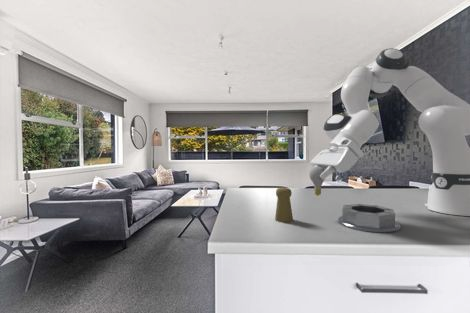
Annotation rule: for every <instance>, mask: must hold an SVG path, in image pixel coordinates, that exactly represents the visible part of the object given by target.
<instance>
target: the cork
mask: <svg viewBox="0 0 470 313" xmlns="http://www.w3.org/2000/svg"><path fill="white" fill-rule="evenodd" d="M292 194H293V192H292V190H291V189H290V188H289V187H278V188H277V189H276V191H275V195H276V197H277V200H276V209H275V216H274V217H275V218H274V220H276V221H275V222H277V221H278V222H279V223H282V222H283V224H286V223H292V222H293V221H294V218H293V212H292V210H293V209H292V204H291V203H292V202H291V196H292Z"/></svg>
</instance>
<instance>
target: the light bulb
mask: <svg viewBox="0 0 470 313" xmlns="http://www.w3.org/2000/svg"><path fill="white" fill-rule="evenodd" d="M324 171H325V170H324V169H323V168H322V167H318V166H317V167H314V166H313V167H312V168H311V169H310V170H309V172H308V173H309V179H310V180H311V182H312V184H313V186H314V187H313V188H314V195H316V196H320V195H322V191H321V190H322V185H323V183H324V181H325V180H326V178H325V179H324V180H323V179H320V178H319V175H320V173H321V172H324Z"/></svg>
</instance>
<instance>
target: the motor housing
mask: <svg viewBox="0 0 470 313" xmlns="http://www.w3.org/2000/svg"><path fill="white" fill-rule="evenodd" d="M341 213H342V214H341V215H340V216H339V217H338V219H337V220H338V223H339V224H340V225H342V226H344V227H346V228H348V229H352V230H356V231H360V232H361V231H362V232H368V233H375V234H376V233H378V234H380V233H381V234H385V233H386V234H389V233H395V232H399V231H400V230H401V225H400V223H398V222H396V213H395V211H394V209H393V208H390V207H389V208H388V207H384V206H382V205H376V204H375V205H374V204H362V203H354V204H353V203H351V204H344V205H343V207H342V212H341Z"/></svg>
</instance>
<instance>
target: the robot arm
mask: <svg viewBox="0 0 470 313" xmlns="http://www.w3.org/2000/svg"><path fill="white" fill-rule="evenodd" d="M392 86H394V87H396V88H398V90H399V91H400V93H401V94H402V95H403V96H404V98H405V99H406V100H407V101H408V102H409V103H410V104H411V105H412V106H413V107H414V108H415V109H416V111H418V112H420V113H421V114H420V115H419V117H418V121H417V122H418V126H419V128H420V130H421V131H422V132H423V133H424V134H425V136H426V138H427V139H428V142H429V145H430V147H431V148H430V149H431V153H432V172H431V177H430V179H431V182H432V184H431V185H430V186H429V187H428V193H427V195H428V196H427V202H425V203H424V206H425V207H427V210H430V211H433V212H436V213H441V214H445V215H447V214H448V215H454V216H465V217H470V146H469V143H468V142H467V139H466V136H470V104H469V103H468V102H466V100H464V99H462V98H460V97H459V96H457V95H455V94H453V93H452V92H451V91H449V90H447V89H446V87H444V86H443V85H441V84H440V82H438V81H437V80H436V79H435V78H433V76H431V75H430V74H429V73H427V72H426V71H424V70H423V69H421V68H420V67H417V66H415V65H414V66H413V65H411V66H410V60H409V59H408V58H407V55H406V54H405V53H404V52H403V51H402V50H400V49H397V48H392V47H391V48H386V49H383V50H382V51H381V52H380V53H378V55H377V57H376V59H375V61H374V63H373V65H372V67H371V68H370V67H368V66H363V65H362V66H357V67H356V68H354V69H352V71H350V73H349V74H348V76H347V77H346V79H345V81H344V82H343V85H342V87H341V90H340V98H341V102H342V104H343V106H344V108H345V110H346V113H347V114H346V113H345V114H343V113H334V114H332V115H331V116H329V117H328V118H327V119H326V121H325V122H324V124H323V131H324V132H325V134H326V135H327V137H328V138H329V140H330V142H329V143H328V148H327V149H325V148H324V149H323V150H321V151H319V153H318V154H316V155H315V156H314V157H313V158H312V159H311V161H310V165H312V167H313V168H314V167H317V166H318V167H322V168H323V169H324V170H325V171H324V172H321V173H320V175H319V178H320V179H323V180H324V179H325V180H326V179H327V177H329V176H331V175H332V174H334V173H335V172H338V173H346V172H348V171H349V170H350V169H351V168H353V166H354V165H355V164H356V163H357V162H358V161H359V159H361V158H363V157H364V155H365V153H364V152H363V148H364V146H365V143H367V142H368V141H369V140H370V139H371V137H373V135H374V134H375V133H376V131H378V127H379V126H380V121H379V118H378V117H377V115H376V114H375V113H374V112H372V111H370V110H369V109H368V106H369V105H368V103H369V97H371V98H375V99H376V98H377V99H379V98H383V97H385V96H386V95H387V94H388V93H389V92H390V90H391V88H392ZM325 180H324V181H325Z"/></svg>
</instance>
